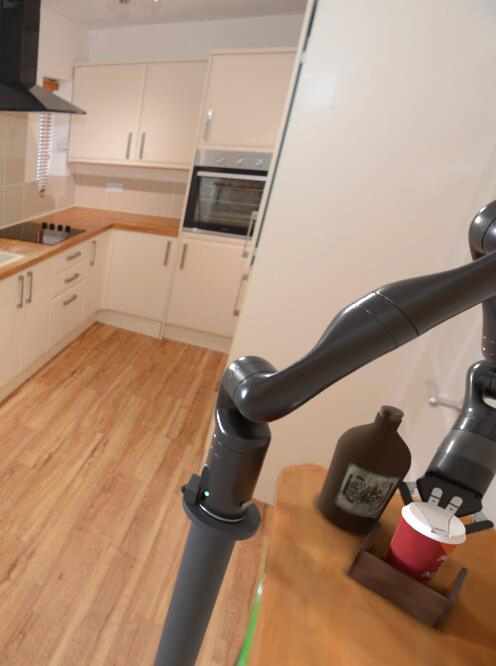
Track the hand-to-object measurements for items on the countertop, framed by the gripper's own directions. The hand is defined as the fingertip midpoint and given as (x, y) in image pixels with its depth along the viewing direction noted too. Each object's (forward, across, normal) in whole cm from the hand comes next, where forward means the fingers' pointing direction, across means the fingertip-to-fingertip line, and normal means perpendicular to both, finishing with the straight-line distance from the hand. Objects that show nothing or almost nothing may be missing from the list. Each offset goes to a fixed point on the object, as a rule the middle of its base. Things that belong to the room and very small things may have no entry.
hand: (418, 548), depth 79 cm
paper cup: (+6, 0, 0) cm, 6 cm away
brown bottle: (0, -11, +6) cm, 13 cm away
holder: (+7, 0, -1) cm, 7 cm away
